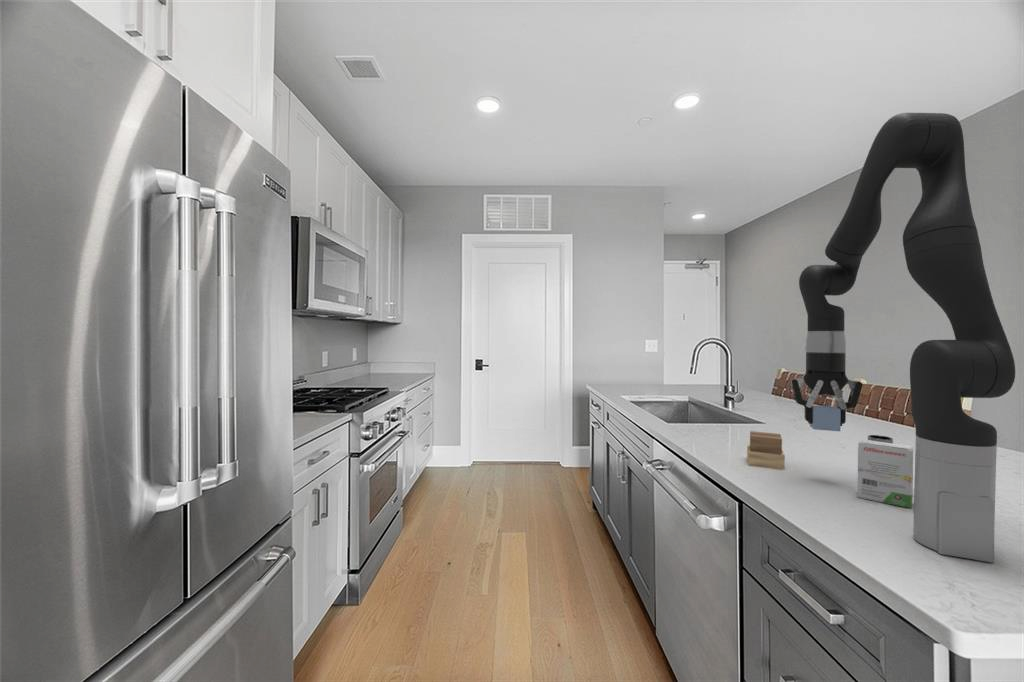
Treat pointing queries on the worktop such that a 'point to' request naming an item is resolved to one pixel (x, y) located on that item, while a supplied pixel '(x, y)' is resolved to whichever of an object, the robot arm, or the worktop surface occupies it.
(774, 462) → the oak block
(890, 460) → the ink box
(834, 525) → the worktop surface
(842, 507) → the worktop surface
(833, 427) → the blue cube
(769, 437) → the walnut block
